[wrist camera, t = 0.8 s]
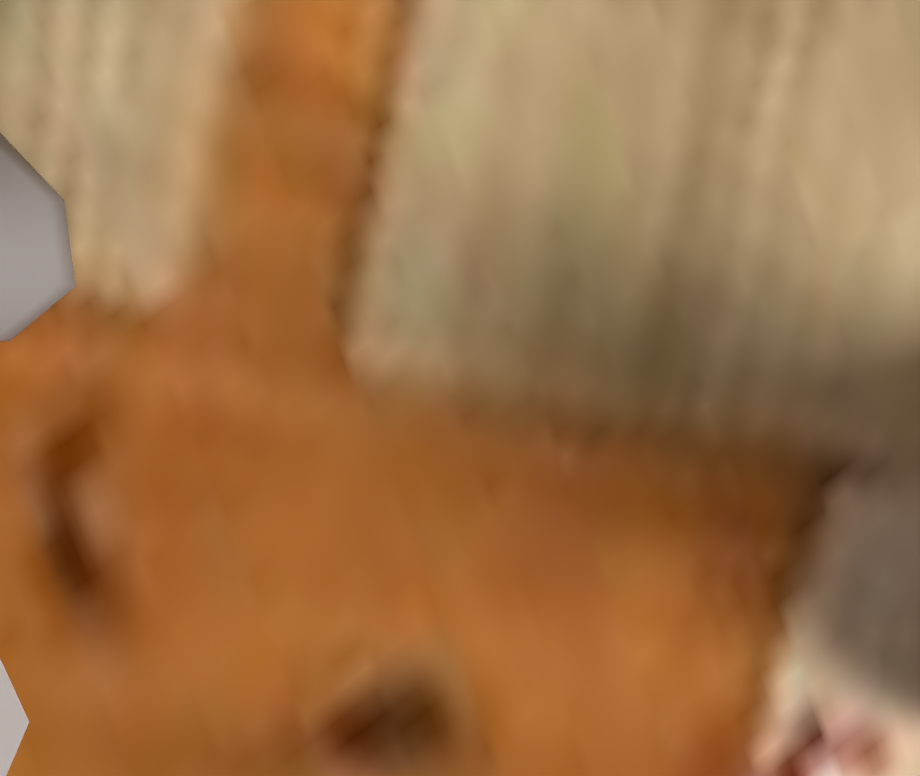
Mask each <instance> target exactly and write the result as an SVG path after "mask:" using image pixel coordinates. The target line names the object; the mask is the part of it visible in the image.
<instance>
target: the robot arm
mask: <svg viewBox="0 0 920 776" xmlns="http://www.w3.org/2000/svg"><path fill="white" fill-rule="evenodd" d="M28 723H29V721H28V718H27V716H26V714H25V712H24V710H23V708H22V705H21V703H20V701H19V699H18V697H17V695H16V692H15V690H14V688H13V686H12V684H11V682H10V679H9V677H8V675H7V673H6V671H5V669H4V666H3V664H2V662H1V660H0V776H6V775H7V772H8V770H9V768H10V765H11V763H12V761H13V758H14V756H15V754H16V751H17V749H18V747H19V744H20V742H21V740H22V737H23V735H24V733H25V730H26V728H27V726H28Z"/></svg>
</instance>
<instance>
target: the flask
mask: <svg viewBox="0 0 920 776" xmlns="http://www.w3.org/2000/svg"><path fill="white" fill-rule="evenodd" d="M74 287H75V278H74V271H73V263H72V256H71V248H70V241H69V233H68V226H67V218H66V211H65V203H64V200H63V199H62V198H61V197H60V195H59V194H58V193H57V192H56V191H55V190H54V189H53V188H52V187H51V186H50V185H49V184H48V183H47V182H46V181H45V180H44V179H43V178H42V176H41V175H40V174H39V173H38V172H37V171H36V170H35V169H34V168H33V167H32V166H31V165H30V164H29V163H28V162H27V161H26V160H25V158H24V157H23V156H22V155H21V154H20V153H19V152H18V151H17V150H16V149H15V148H14V147H13V146H12V145H11V144H10V143H9V142H8V141H7V139H6V138H5V137H4V136H3V135H2V134H1V133H0V341H11V340H12V339H13V338H14V337H15V336H17V335H18V334H19V333H20V332H21V331H23V330H24V329H25V328H26V327H27V326H28V325H30V324H31V323H32V322H33V321H34V320H36V319H37V318H38V317H39V316H40V315H42V314H43V313H44V312H45V311H46V310H48V309H49V308H50V307H51V306H52V305H53V304H55V303H56V302H57V301H58V300H59V299H61V298H62V297H63V296H64V295H65V294H67V293H68V292H69V291H70V290H71V289H73V288H74Z"/></svg>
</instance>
